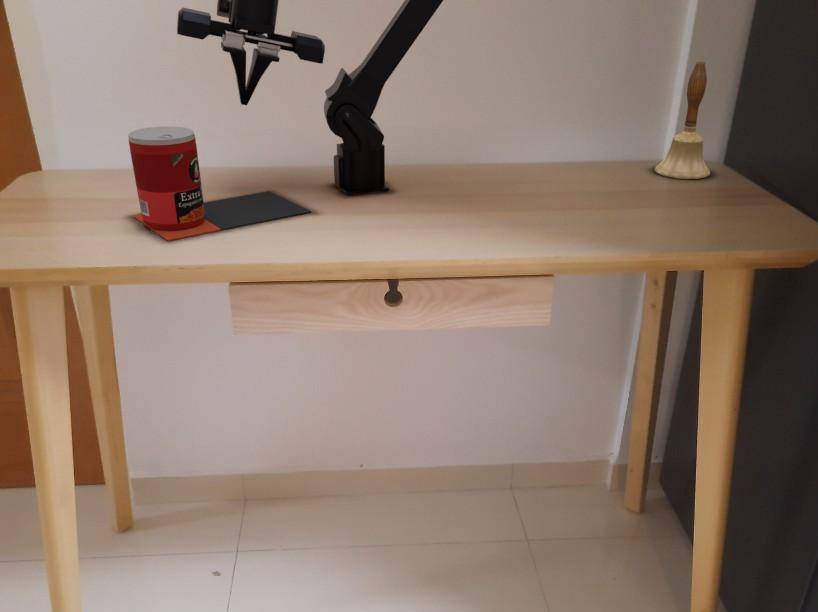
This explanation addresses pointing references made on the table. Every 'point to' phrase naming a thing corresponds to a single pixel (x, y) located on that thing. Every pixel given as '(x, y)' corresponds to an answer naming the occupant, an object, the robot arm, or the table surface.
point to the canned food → (167, 177)
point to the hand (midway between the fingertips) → (243, 104)
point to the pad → (178, 234)
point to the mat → (250, 210)
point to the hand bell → (688, 136)
